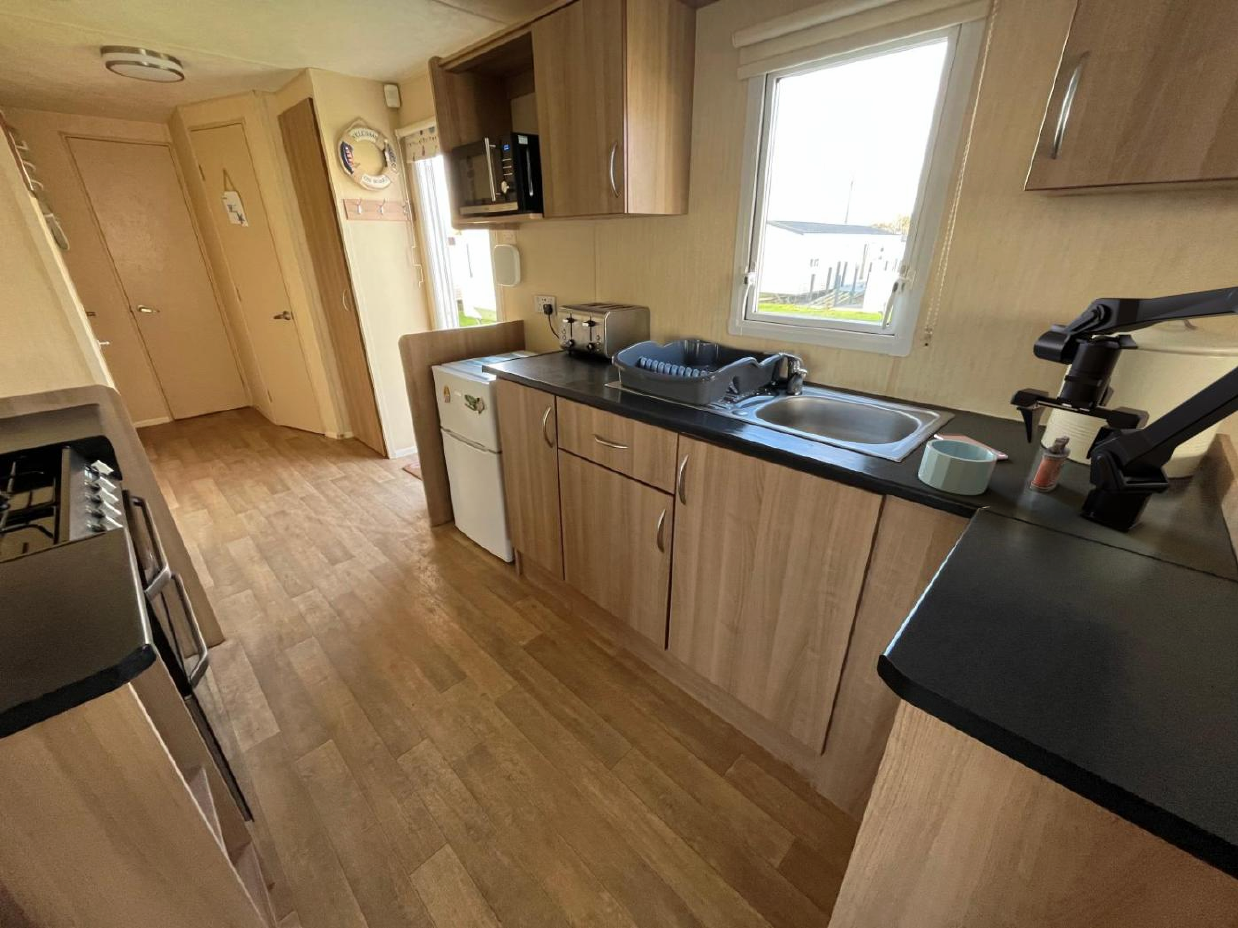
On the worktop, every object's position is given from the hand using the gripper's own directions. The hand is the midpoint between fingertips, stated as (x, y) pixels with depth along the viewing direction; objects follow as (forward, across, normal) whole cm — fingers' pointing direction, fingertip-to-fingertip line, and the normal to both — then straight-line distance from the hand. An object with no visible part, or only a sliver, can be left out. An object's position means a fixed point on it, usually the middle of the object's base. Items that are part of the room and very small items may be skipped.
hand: (1057, 450), depth 94 cm
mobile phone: (+8, +18, -8) cm, 21 cm away
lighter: (+8, 0, 0) cm, 8 cm away
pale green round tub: (+8, +10, +15) cm, 19 cm away
